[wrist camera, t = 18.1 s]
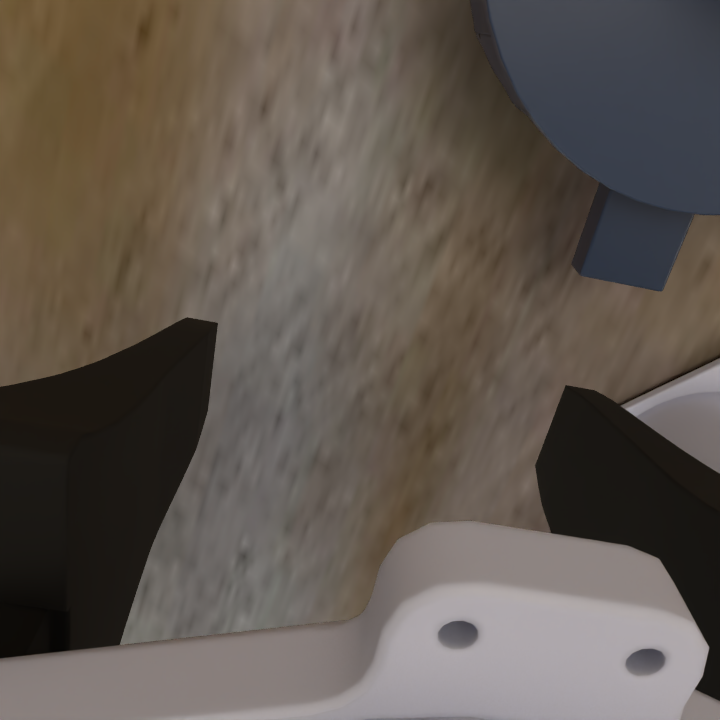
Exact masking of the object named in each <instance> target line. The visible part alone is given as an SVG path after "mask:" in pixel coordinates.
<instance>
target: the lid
mask: <svg viewBox="0 0 720 720" xmlns="http://www.w3.org/2000/svg"><path fill="white" fill-rule="evenodd" d="M483 2H484V8H485V14H486V20H487V24H488V27H489V30H490V34H491V37H492V40H493V44H494V47H495V50H496V53H497V57H498V59H499V62H500V64H501V66H502V68H503V71H504V73H505V75H506V77H507V79H508V82H509V84H510V86H511V88H512V90H513V92H514V94H515V96H516V97H517V99H518V100H519V102H520V103H521V105H522V107H523V108H524V110H525V111H526V113H527V115H528V116H529V118H530V119H531V121H532V122H533V123H534V125H535V126H536V127H537V128H538V129H539V130H540V132H541V133H542V134H543V135H544V136H545V137H546V139H547V140H548V141H549V142H550V143H551V145H552V146H553V147H554V148H555V149H557V150H558V151H559V152H560V153H561V154H562V155H563V156H565V157H566V158H567V159H568V160H569V161H570V162H571V163H573V164H574V165H575V166H576V167H577V168H578V169H580V170H581V171H583V172H584V173H586V174H587V175H589V176H590V177H592V178H594V179H595V180H597V181H598V182H600V183H601V184H603V185H605V186H606V187H608V188H609V189H611V190H614V191H616V192H618V193H620V194H623V195H625V196H627V197H629V198H632V199H634V200H636V201H638V202H641V203H645V204H649V205H652V206H656V207H659V208H663V209H666V210H670V211H677V212H684V213H691V214H699V215H720V0H483Z"/></svg>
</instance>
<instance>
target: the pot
mask: <svg viewBox="0 0 720 720" xmlns="http://www.w3.org/2000/svg"><path fill="white" fill-rule="evenodd" d="M470 4H471V10H472V16H473V21H474V30H475V32H476V37H477V38H478V40H479V42H480V44H481V46H482V48H483V50H484V52H485V54H486V56H487V59H488V61H489V63H490V65H491V67H492V69H493V71H494V73H495V74H496V76H497V77H498V79H499V81H500V82H501V84H502V85H503V87H504V88H505V90H506V92H507V94H508V96H509V98H510V100H511V101H512V103H513V104H515V106H516V107H517V108H518V109H519V110H521V111H522V112H523V113H525V114H526V115H527V113H526V111H525V110H524V108H523V107H522V105H521V103H520V102H519V100H518V99H517V97H516V96H515V94H514V92H513V90H512V88H511V86H510V84H509V82H508V79H507V77H506V75H505V73H504V71H503V68H502V66H501V64H500V62H499V59H498V57H497V53H496V50H495V47H494V44H493V40H492V37H491V34H490V30H489V27H488V24H487V20H486V14H485V8H484V2H483V0H470ZM527 116H528V115H527ZM528 117H529V116H528ZM694 215H695V214H691V213H684V212H677V211H670V210H666V209H663V208H659V207H656V206H652V205H649V204H645V203H641V202H638V201H636V200H634V199H632V198H629V197H627V196H625V195H623V194H620V193H618V192H616V191H614V190H611V189H609V188H608V187H606V186H605V185H603V184H601V183H599V186H598V189H597V192H596V194H595V197H594V200H593V203H592V206H591V209H590V212H589V214H588V217H587V220H586V223H585V226H584V229H583V232H582V234H581V237H580V240H579V243H578V246H577V249H576V252H575V255H574V257H573V260H572V266H573V267H574V268H575V270H576V271H577V272H578V273H579V275H581V276H584V277H589V278H594V279H599V280H604V281H609V282H615V283H620V284H625V285H630V286H635V287H640V288H645V289H650V290H655V291H662V290H663V289H664V286H665V284H666V282H667V279H668V277H669V274H670V272H671V270H672V267H673V265H674V262H675V260H676V258H677V255H678V253H679V251H680V248H681V246H682V243H683V241H684V239H685V236H686V234H687V231H688V229H689V227H690V224H691V222H692V219H693V217H694Z"/></svg>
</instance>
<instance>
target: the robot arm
mask: <svg viewBox="0 0 720 720" xmlns="http://www.w3.org/2000/svg"><path fill="white" fill-rule="evenodd" d="M217 326H218V323H215V322H209V321H204V320H198V319H193V318H185V319H182V320H180V321H178V322H177V323H175V324H173V325H171V326H169V327H167V328H166V329H164V330H162V331H160V332H158V333H157V334H155V335H153V336H151V337H149V338H147V339H145V340H143V341H141V342H139V343H138V344H136V345H134V346H131V347H129V348H127V349H125V350H122V351H120V352H118V353H116V354H113V355H111V356H109V357H107V358H105V359H102V360H100V361H97V362H95V363H92V364H89V365H87V366H84V367H81V368H78V369H75V370H71V371H68V372H65V373H62V374H58V375H55V376H51V377H46V378H41V379H37V380H32V381H28V382H23V383H19V384H14V385H9V386H3V387H0V720H720V358H719V359H717V360H715V361H713V362H711V363H709V364H706V365H704V366H702V367H700V368H698V369H696V370H694V371H692V372H690V373H688V374H686V375H683V376H681V377H679V378H677V379H675V380H673V381H671V382H669V383H667V384H665V385H662V386H660V387H658V388H656V389H654V390H652V391H650V392H648V393H646V394H644V395H642V396H639V397H637V398H635V399H633V400H631V401H629V402H627V403H625V404H623V405H621V406H620V405H618V404H617V403H615V402H614V401H612V400H611V399H609V398H607V397H606V396H604V395H602V394H601V393H599V392H597V391H594V390H589V389H584V388H578V387H573V386H567V385H566V386H565V389H564V391H563V394H562V397H561V399H560V402H559V404H558V407H557V410H556V412H555V415H554V418H553V420H552V423H551V426H550V428H549V431H548V433H547V436H546V439H545V441H544V444H543V447H542V449H541V452H540V454H539V457H538V460H537V462H536V465H535V467H536V474H537V480H538V486H539V492H540V497H541V502H542V506H543V509H544V513H545V516H546V519H547V521H548V524H549V527H550V530H551V533H546V532H540V531H534V530H527V529H521V528H515V527H508V526H502V525H496V524H490V523H483V522H477V521H471V520H468V521H448V522H431V523H429V524H427V525H425V526H423V527H421V528H419V529H417V530H415V531H413V532H411V533H409V534H407V535H405V536H403V537H401V538H399V539H397V541H396V542H395V544H394V545H393V547H392V548H391V550H390V551H389V553H388V554H387V556H386V557H385V559H384V560H383V562H382V563H381V565H380V567H379V571H378V575H377V578H376V582H375V585H374V589H373V593H372V596H371V598H370V600H369V602H368V605H367V607H366V609H365V610H364V611H363V612H362V613H361V614H360V615H358V616H356V617H354V618H352V619H349V620H342V621H333V622H324V623H315V624H306V625H297V626H288V627H279V628H270V629H261V630H252V631H243V632H234V633H225V634H216V635H207V636H198V637H189V638H180V639H171V640H162V641H153V642H144V643H134V644H125V645H120V641H121V638H122V635H123V632H124V629H125V626H126V622H127V619H128V616H129V613H130V610H131V607H132V604H133V601H134V597H135V594H136V591H137V588H138V585H139V582H140V579H141V576H142V573H143V570H144V567H145V564H146V561H147V558H148V555H149V552H150V549H151V547H152V544H153V542H154V539H155V537H156V535H157V532H158V530H159V528H160V526H161V523H162V521H163V519H164V517H165V515H166V513H167V511H168V509H169V506H170V504H171V502H172V500H173V498H174V496H175V494H176V492H177V489H178V487H179V485H180V483H181V481H182V479H183V477H184V475H185V472H186V470H187V468H188V466H189V464H190V462H191V459H192V457H193V455H194V453H195V451H196V448H197V445H198V442H199V438H200V435H201V432H202V429H203V425H204V422H205V418H206V415H207V412H208V404H209V396H210V387H211V378H212V369H213V361H214V352H215V343H216V334H217Z"/></svg>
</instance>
